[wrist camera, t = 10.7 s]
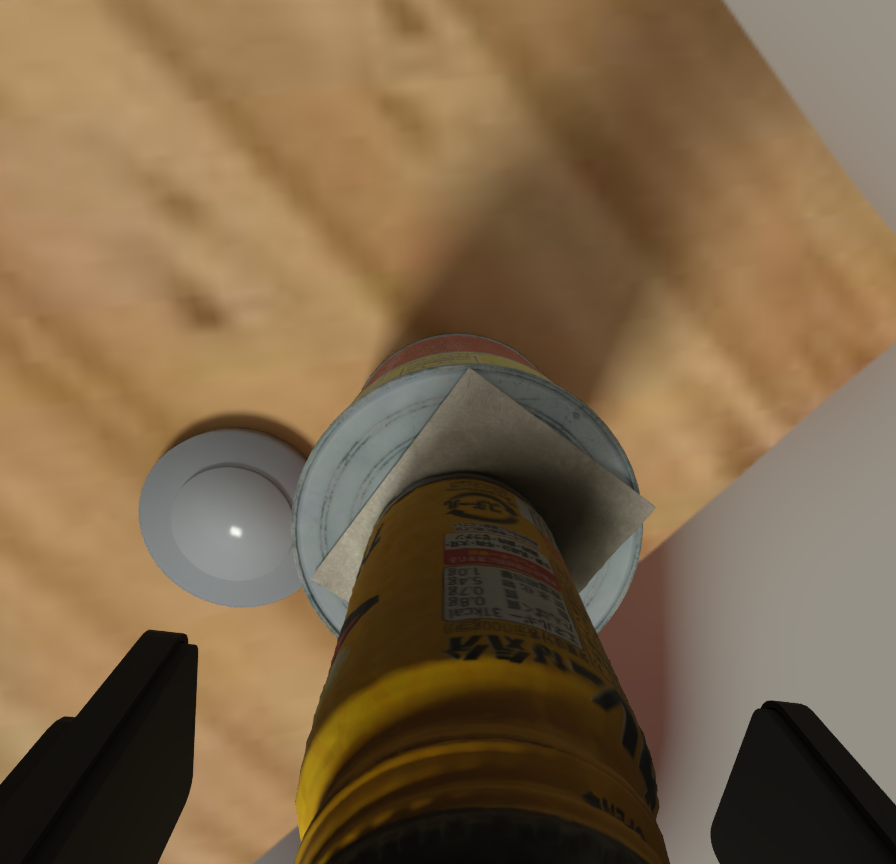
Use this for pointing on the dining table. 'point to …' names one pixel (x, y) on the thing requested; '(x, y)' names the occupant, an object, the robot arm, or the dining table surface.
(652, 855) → the condiment
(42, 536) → the dining table surface
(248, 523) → the saucer
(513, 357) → the canned food
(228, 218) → the dining table surface
